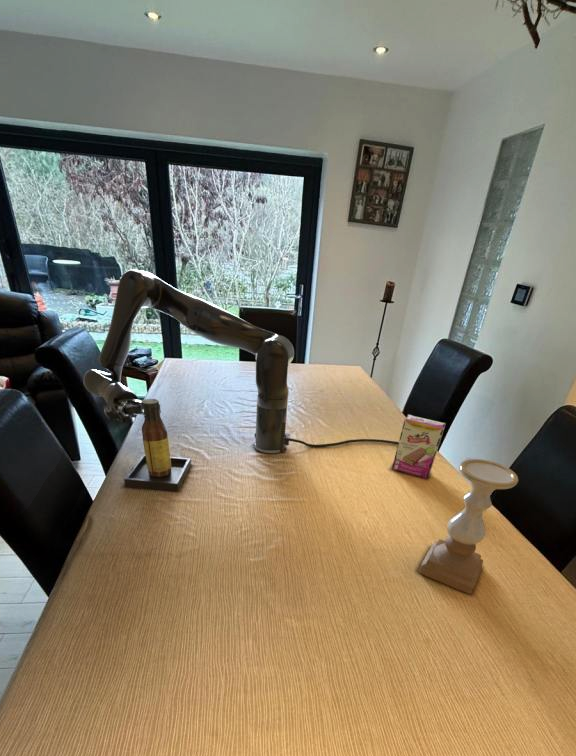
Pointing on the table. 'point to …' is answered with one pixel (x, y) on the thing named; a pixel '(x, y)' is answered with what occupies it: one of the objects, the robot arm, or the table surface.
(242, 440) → the table surface
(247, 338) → the robot arm
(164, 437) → the sauce bottle
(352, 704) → the table surface
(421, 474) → the candy bar box
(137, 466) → the dark square tray
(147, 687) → the table surface
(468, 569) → the candle holder
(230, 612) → the table surface
